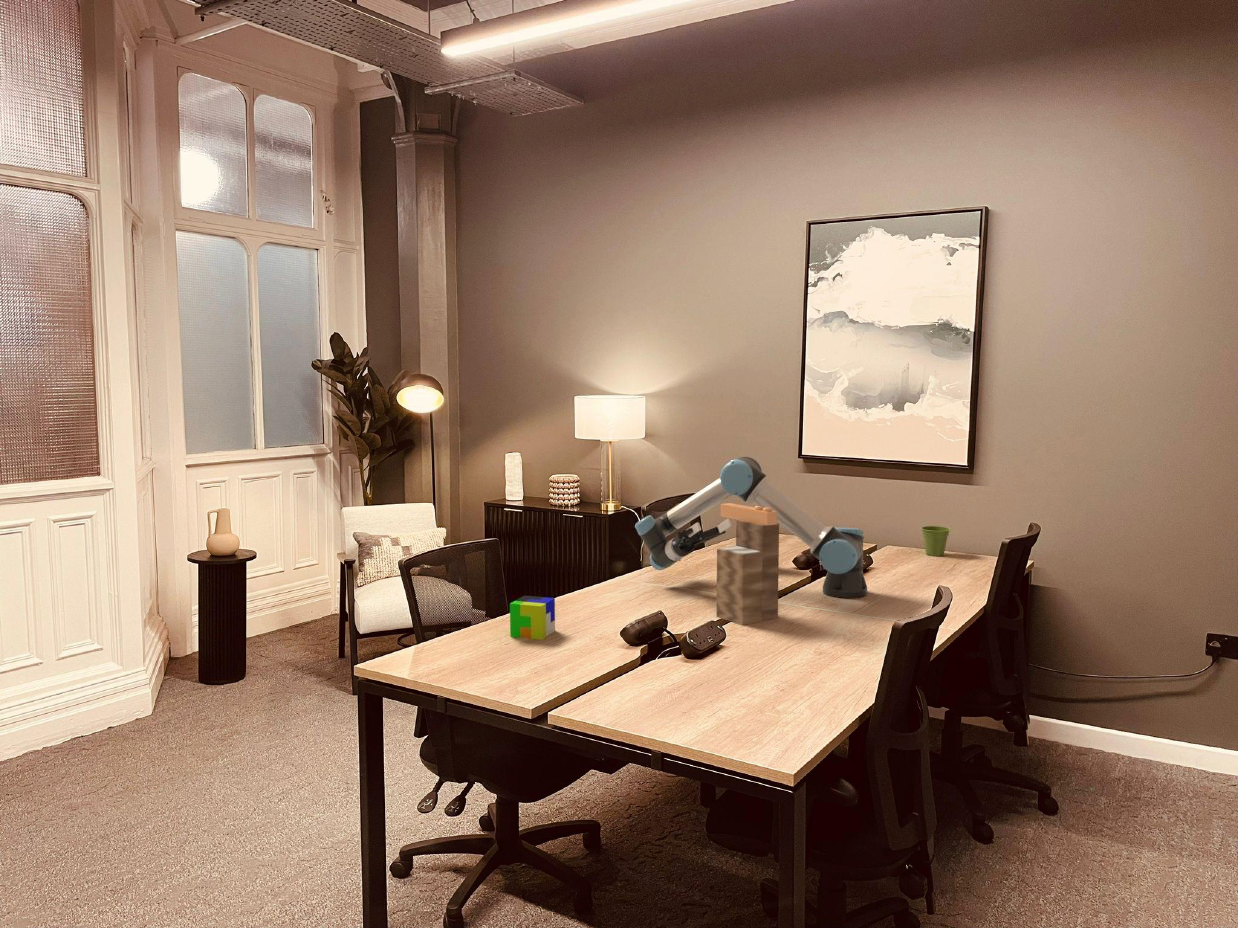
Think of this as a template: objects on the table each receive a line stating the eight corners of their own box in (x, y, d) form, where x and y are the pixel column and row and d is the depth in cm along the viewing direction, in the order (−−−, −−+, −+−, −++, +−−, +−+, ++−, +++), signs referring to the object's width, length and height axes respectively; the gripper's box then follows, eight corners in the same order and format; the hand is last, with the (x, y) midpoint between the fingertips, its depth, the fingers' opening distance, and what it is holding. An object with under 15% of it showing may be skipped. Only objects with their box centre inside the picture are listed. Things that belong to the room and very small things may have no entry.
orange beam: (720, 516, 303) (720, 501, 302) (729, 515, 305) (730, 499, 304) (767, 525, 285) (767, 509, 284) (776, 524, 287) (776, 508, 286)
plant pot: (915, 552, 393) (915, 526, 392) (941, 551, 394) (942, 525, 393) (927, 557, 381) (928, 530, 380) (954, 557, 382) (955, 530, 381)
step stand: (716, 616, 293) (717, 522, 290) (751, 609, 301) (752, 518, 298) (742, 625, 283) (743, 528, 280) (777, 617, 291) (779, 523, 288)
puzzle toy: (555, 630, 278) (554, 598, 277) (541, 639, 269) (541, 606, 268) (524, 627, 281) (524, 595, 280) (510, 636, 272) (509, 603, 271)
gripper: (710, 552, 330) (746, 530, 314) (655, 561, 316) (689, 538, 300) (704, 533, 332) (739, 510, 316) (648, 540, 318) (682, 517, 302)
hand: (715, 523), depth 308 cm, fingers open, 13 cm apart
